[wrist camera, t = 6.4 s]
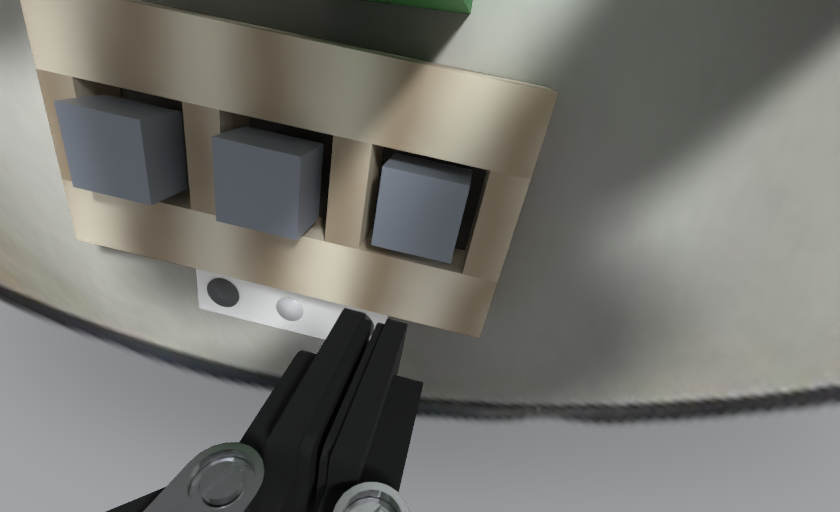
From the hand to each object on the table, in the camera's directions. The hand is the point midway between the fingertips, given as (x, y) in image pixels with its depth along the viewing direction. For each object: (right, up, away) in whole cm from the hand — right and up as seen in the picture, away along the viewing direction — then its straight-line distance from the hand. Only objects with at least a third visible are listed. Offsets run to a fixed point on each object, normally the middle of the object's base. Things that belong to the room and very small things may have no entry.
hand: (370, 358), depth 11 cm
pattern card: (-8, -1, +19) cm, 20 cm away
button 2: (+2, +6, +13) cm, 14 cm away
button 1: (-14, +9, +13) cm, 21 cm away
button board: (-6, +8, +14) cm, 17 cm away
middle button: (-6, +7, +12) cm, 15 cm away
